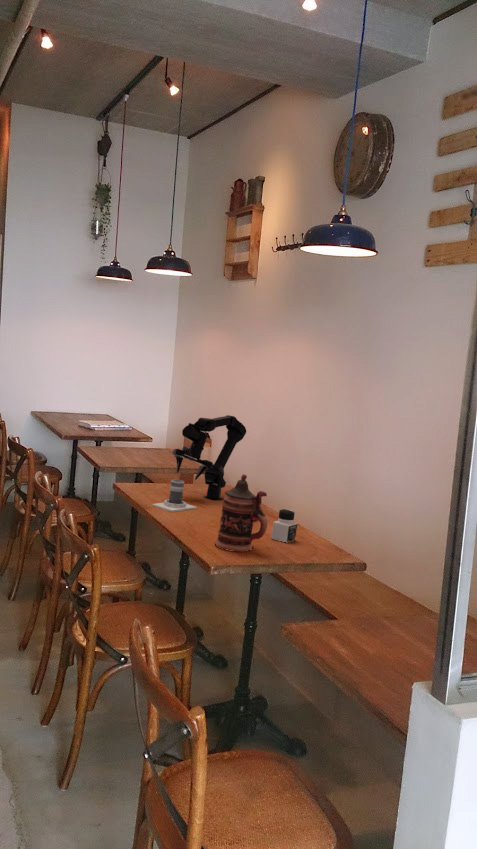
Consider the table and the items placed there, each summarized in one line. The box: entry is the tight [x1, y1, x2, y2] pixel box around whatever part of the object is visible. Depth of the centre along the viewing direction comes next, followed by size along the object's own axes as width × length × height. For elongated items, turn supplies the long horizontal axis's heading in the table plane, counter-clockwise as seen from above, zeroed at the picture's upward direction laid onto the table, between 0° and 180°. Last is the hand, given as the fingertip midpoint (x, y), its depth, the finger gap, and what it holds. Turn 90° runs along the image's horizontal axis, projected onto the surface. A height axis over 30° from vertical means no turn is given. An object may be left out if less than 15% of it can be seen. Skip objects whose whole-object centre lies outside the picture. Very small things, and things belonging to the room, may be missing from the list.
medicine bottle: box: [271, 508, 298, 544], centre depth 292 cm, size 7×7×12 cm
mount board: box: [151, 499, 198, 513], centre depth 325 cm, size 16×12×3 cm
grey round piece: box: [169, 479, 185, 504], centre depth 325 cm, size 6×6×11 cm
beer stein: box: [215, 474, 268, 552], centre depth 271 cm, size 17×28×18 cm
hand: (186, 476), depth 336 cm, fingers open, 9 cm apart
